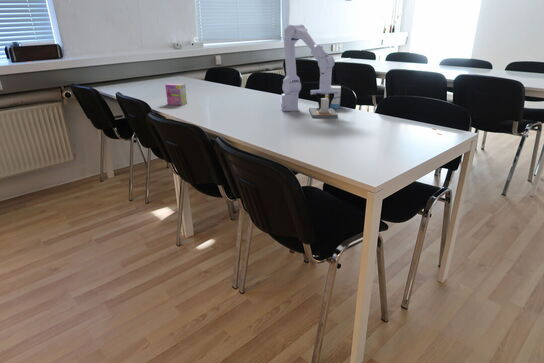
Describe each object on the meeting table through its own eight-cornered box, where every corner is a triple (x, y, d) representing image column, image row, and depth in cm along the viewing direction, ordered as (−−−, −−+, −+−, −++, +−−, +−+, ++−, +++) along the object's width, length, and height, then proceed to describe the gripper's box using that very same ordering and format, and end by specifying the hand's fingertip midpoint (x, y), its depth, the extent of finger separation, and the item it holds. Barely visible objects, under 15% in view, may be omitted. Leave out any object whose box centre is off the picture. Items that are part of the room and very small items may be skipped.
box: (167, 104, 226) (164, 84, 221) (172, 102, 231) (170, 82, 226) (181, 105, 222) (179, 85, 218) (187, 103, 227) (185, 83, 223)
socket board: (312, 117, 192) (312, 114, 192) (308, 110, 209) (308, 107, 208) (337, 117, 192) (337, 114, 192) (332, 110, 209) (332, 107, 208)
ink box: (339, 108, 213) (340, 87, 209) (324, 108, 215) (325, 87, 210) (339, 105, 221) (341, 85, 216) (325, 105, 222) (326, 85, 218)
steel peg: (320, 115, 195) (321, 99, 191) (319, 113, 198) (320, 98, 195) (328, 115, 195) (329, 99, 191) (327, 113, 198) (327, 98, 195)
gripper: (312, 82, 186) (310, 109, 191) (341, 82, 186) (339, 109, 191) (310, 80, 192) (309, 107, 198) (338, 80, 193) (337, 107, 198)
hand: (324, 108), depth 195 cm, fingers closed on steel peg, 4 cm apart
